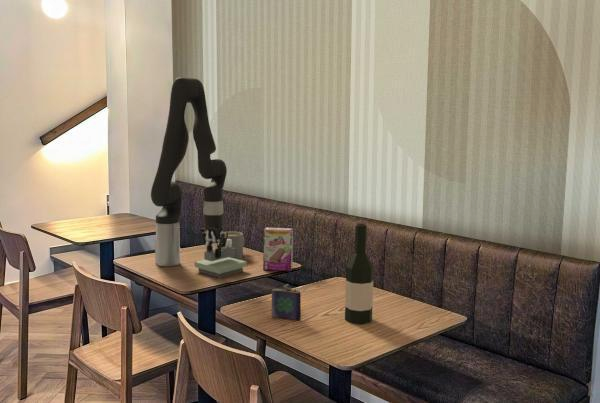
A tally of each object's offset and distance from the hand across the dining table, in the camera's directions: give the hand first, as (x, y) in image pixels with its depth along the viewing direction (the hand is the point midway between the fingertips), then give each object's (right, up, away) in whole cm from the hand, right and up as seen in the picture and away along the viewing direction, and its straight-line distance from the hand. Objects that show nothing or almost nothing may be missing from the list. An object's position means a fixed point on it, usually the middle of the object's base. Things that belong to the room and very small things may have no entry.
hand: (214, 256), depth 232 cm
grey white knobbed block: (+2, -1, +2) cm, 3 cm away
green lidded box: (+2, -6, +4) cm, 7 cm away
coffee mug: (+5, -3, +28) cm, 29 cm away
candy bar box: (+24, -6, +8) cm, 26 cm away
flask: (+29, -15, -46) cm, 56 cm away
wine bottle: (+51, -15, -47) cm, 70 cm away
